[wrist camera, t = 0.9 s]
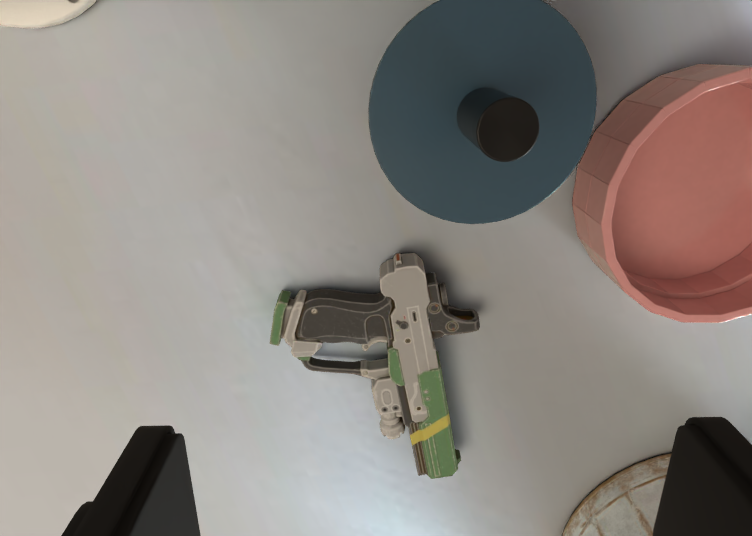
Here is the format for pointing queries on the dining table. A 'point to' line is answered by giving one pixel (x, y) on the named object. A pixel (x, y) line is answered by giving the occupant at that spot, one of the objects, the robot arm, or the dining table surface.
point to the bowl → (674, 194)
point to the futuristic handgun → (404, 345)
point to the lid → (482, 107)
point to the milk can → (622, 502)
